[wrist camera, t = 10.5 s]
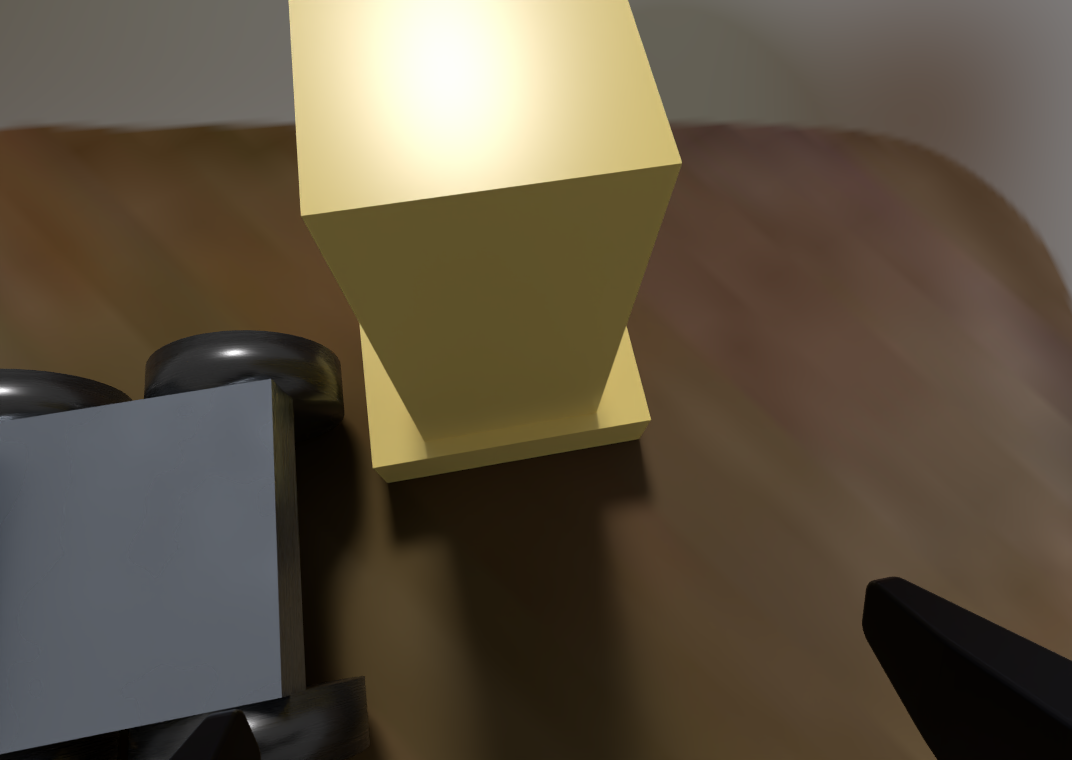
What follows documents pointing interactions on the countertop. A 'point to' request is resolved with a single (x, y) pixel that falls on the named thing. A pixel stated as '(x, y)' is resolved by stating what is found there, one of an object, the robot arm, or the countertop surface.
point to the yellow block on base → (484, 216)
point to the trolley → (164, 555)
